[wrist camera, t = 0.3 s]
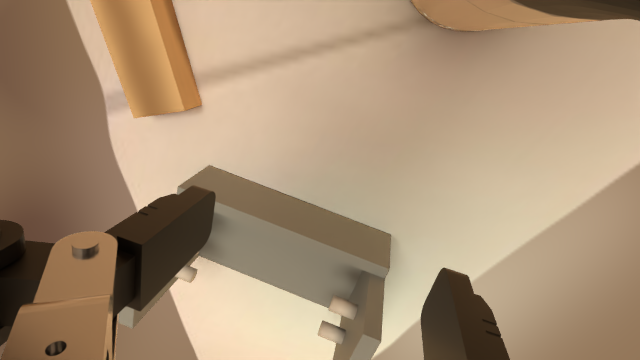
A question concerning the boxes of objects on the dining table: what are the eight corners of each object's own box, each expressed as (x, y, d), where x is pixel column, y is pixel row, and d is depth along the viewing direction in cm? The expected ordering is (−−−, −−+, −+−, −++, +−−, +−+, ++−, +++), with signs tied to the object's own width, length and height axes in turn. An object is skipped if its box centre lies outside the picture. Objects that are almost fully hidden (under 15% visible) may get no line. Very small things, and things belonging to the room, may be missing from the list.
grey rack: (209, 165, 31) (122, 224, 22) (390, 234, 30) (387, 330, 20) (196, 243, 36) (118, 322, 26) (355, 307, 34) (338, 416, 25)
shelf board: (149, -87, 25) (118, -102, 22) (204, 103, 30) (184, 110, 27) (95, -69, 26) (60, -81, 23) (157, 111, 31) (133, 118, 28)
